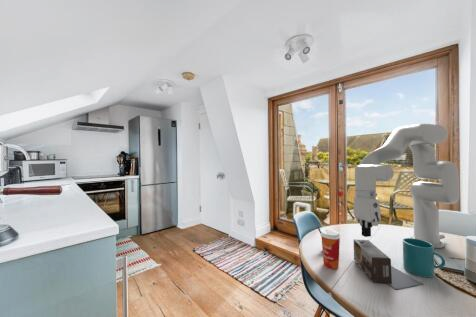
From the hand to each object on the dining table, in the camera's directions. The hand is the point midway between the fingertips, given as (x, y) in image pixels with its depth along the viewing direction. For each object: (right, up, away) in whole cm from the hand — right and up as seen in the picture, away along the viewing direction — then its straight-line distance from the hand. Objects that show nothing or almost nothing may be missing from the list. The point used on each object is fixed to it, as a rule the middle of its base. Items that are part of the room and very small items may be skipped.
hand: (366, 235), depth 85 cm
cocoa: (-12, -12, +10) cm, 19 cm away
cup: (+16, -11, -9) cm, 22 cm away
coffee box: (-2, -6, +1) cm, 7 cm away
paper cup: (-17, -12, -3) cm, 20 cm away
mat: (+2, -11, -9) cm, 14 cm away
